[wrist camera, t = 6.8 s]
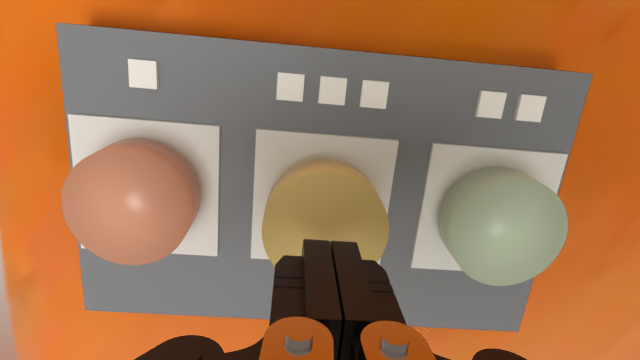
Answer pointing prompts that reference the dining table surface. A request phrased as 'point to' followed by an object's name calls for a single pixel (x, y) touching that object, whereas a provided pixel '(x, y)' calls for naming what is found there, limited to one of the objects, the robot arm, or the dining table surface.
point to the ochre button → (324, 210)
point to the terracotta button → (131, 201)
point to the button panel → (309, 157)
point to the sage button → (502, 226)
